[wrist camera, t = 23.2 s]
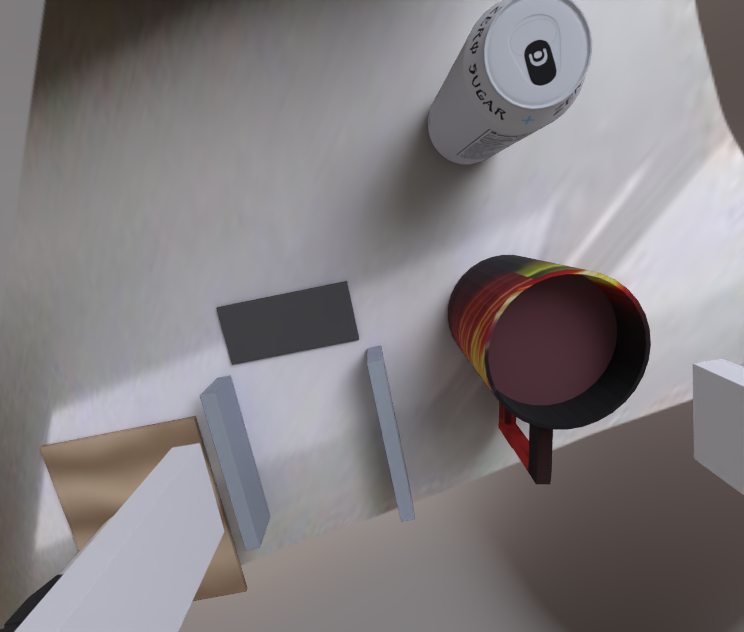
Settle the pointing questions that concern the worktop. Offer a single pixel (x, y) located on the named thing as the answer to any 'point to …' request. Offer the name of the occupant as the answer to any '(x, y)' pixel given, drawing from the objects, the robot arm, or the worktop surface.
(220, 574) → the plate
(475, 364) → the mug
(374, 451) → the worktop surface
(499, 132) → the energy drink can
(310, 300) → the mat
